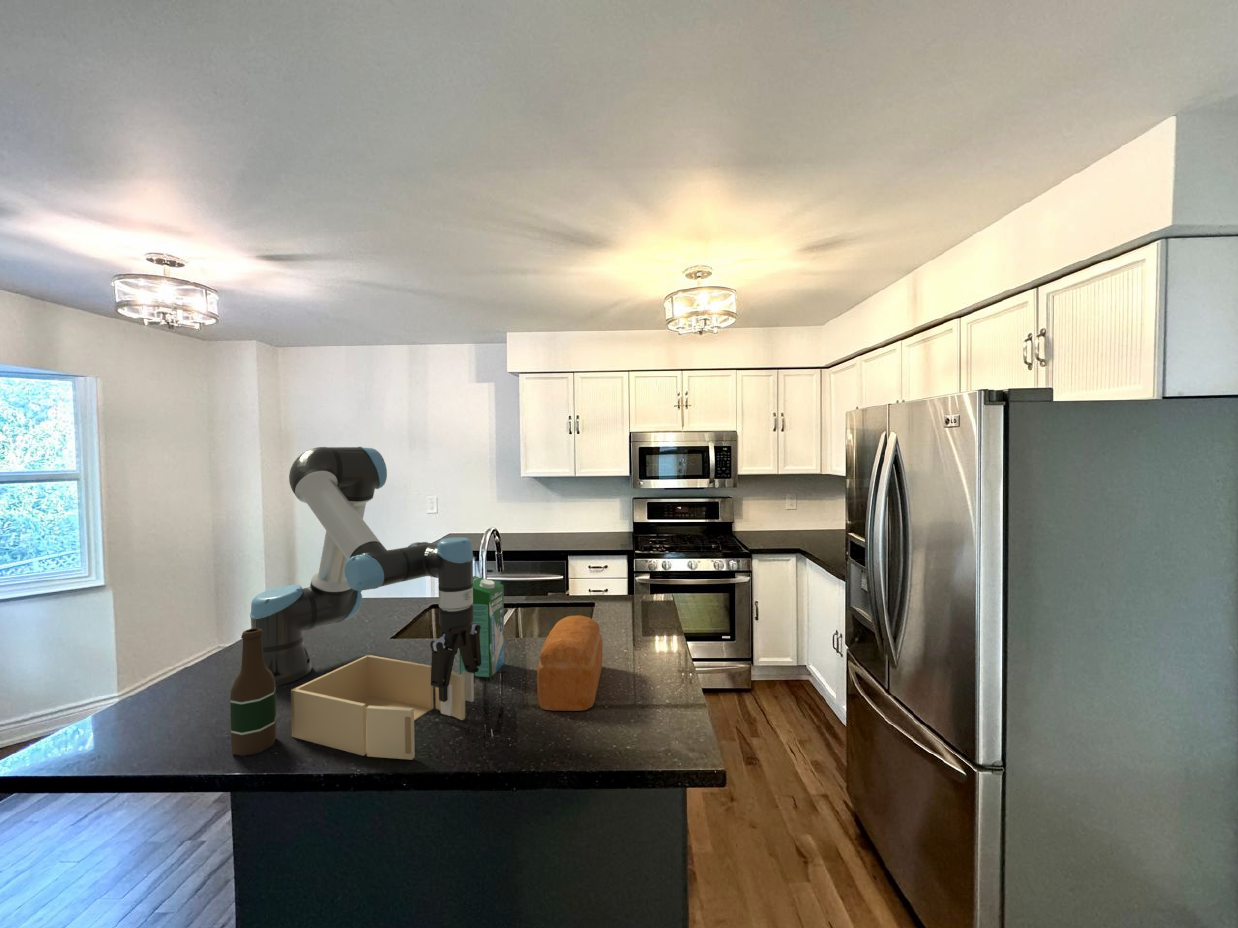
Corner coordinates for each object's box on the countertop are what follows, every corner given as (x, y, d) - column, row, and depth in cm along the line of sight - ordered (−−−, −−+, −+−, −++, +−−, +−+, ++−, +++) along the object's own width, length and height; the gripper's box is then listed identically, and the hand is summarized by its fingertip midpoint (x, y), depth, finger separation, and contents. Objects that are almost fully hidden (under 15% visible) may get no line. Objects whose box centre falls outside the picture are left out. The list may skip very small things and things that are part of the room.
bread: (604, 665, 142) (603, 609, 142) (594, 712, 116) (593, 644, 116) (555, 664, 143) (555, 609, 143) (534, 711, 117) (534, 644, 117)
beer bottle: (247, 736, 107) (244, 624, 107) (285, 734, 108) (283, 623, 108) (221, 758, 100) (218, 637, 99) (263, 756, 100) (260, 636, 100)
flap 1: (370, 753, 100) (369, 705, 100) (414, 756, 99) (413, 708, 99) (366, 756, 99) (365, 708, 99) (411, 760, 98) (410, 711, 98)
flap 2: (461, 720, 113) (460, 677, 112) (435, 708, 118) (435, 667, 118) (465, 717, 114) (465, 675, 113) (440, 706, 119) (439, 665, 119)
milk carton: (490, 677, 135) (489, 584, 134) (459, 675, 137) (458, 583, 136) (504, 663, 144) (503, 576, 143) (475, 661, 146) (474, 575, 145)
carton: (291, 736, 107) (290, 690, 107) (368, 694, 126) (367, 654, 126) (363, 755, 100) (362, 705, 100) (433, 707, 119) (432, 665, 119)
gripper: (436, 621, 105) (438, 731, 105) (496, 597, 122) (497, 691, 123) (410, 616, 108) (412, 723, 109) (472, 593, 125) (473, 686, 126)
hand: (457, 706), depth 116 cm, fingers open, 6 cm apart
